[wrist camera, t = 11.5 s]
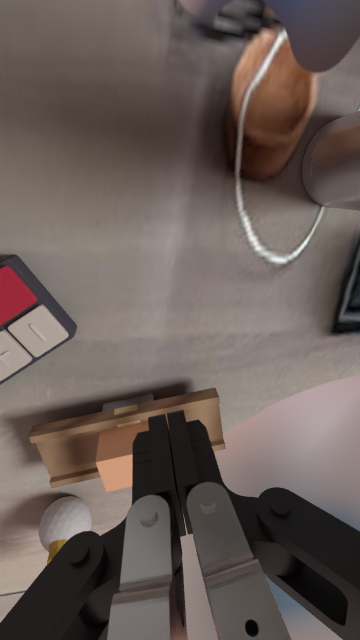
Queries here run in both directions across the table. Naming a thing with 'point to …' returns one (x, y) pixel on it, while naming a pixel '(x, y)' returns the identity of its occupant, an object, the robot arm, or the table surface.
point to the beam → (83, 432)
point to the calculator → (27, 319)
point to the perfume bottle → (63, 523)
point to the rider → (117, 455)
